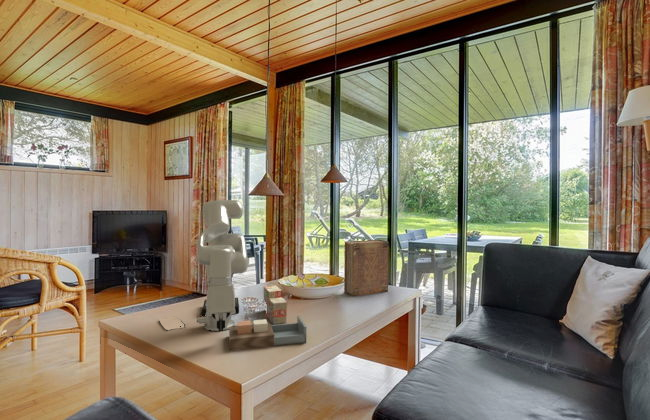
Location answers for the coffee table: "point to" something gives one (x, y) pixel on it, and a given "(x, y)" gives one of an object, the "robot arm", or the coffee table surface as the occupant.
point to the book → (366, 267)
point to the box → (289, 333)
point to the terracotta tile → (244, 327)
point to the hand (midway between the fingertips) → (220, 330)
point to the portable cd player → (235, 307)
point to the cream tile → (260, 325)
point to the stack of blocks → (275, 304)
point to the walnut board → (250, 338)
